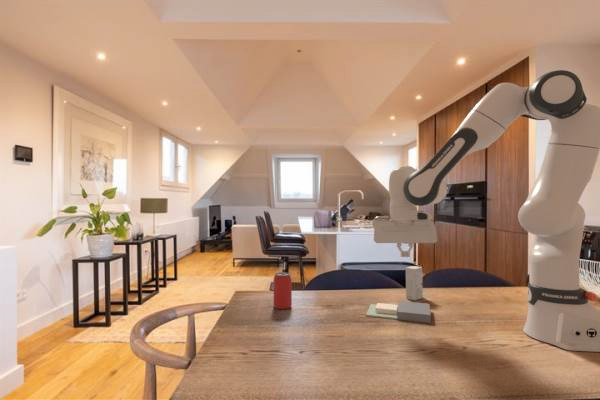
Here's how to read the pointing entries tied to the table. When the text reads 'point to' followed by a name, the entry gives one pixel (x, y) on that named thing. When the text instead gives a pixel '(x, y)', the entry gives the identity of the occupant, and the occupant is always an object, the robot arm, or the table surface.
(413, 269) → the skincare box
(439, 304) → the table surface
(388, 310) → the tile
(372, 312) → the mat
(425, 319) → the block
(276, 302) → the beer can
